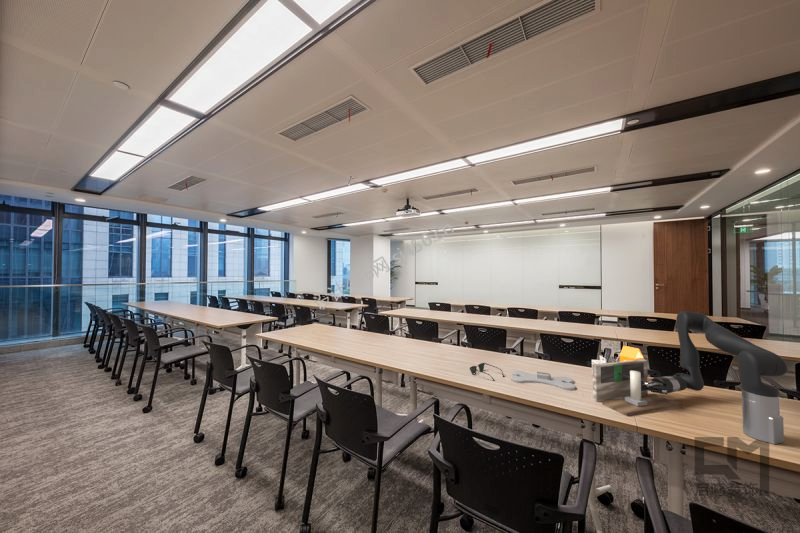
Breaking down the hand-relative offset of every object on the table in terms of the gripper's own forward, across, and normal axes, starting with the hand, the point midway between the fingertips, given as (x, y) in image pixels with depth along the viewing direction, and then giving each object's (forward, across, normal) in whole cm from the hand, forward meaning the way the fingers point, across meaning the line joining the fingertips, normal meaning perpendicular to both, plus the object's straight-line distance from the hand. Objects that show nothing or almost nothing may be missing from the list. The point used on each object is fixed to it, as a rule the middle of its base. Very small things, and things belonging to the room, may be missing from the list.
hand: (638, 388), depth 139 cm
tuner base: (-1, -3, +9) cm, 9 cm away
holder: (+22, -40, +9) cm, 46 cm away
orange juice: (-30, -26, +9) cm, 41 cm away
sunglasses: (+48, -56, +9) cm, 75 cm away
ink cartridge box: (-10, -30, +9) cm, 33 cm away
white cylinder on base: (+2, -2, +7) cm, 7 cm away
